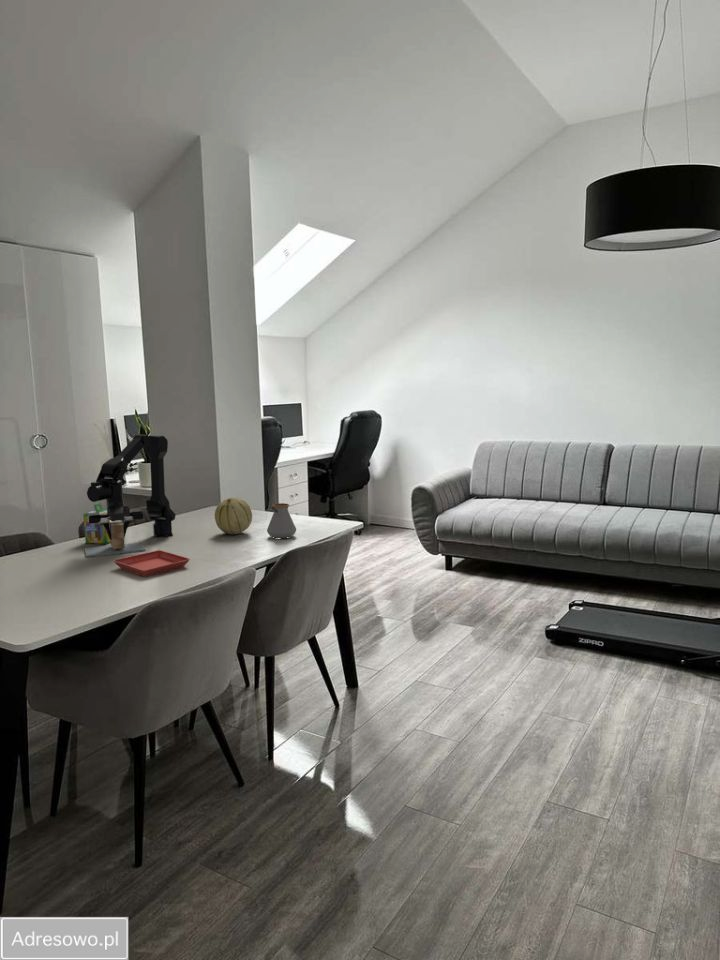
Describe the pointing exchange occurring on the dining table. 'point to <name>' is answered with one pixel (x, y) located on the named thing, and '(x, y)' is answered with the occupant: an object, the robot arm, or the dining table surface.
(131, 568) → the plant saucer
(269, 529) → the coffee pot
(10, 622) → the dining table surface
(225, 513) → the cantaloupe
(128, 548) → the mat
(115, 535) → the block
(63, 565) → the dining table surface
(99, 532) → the colorful printed box
